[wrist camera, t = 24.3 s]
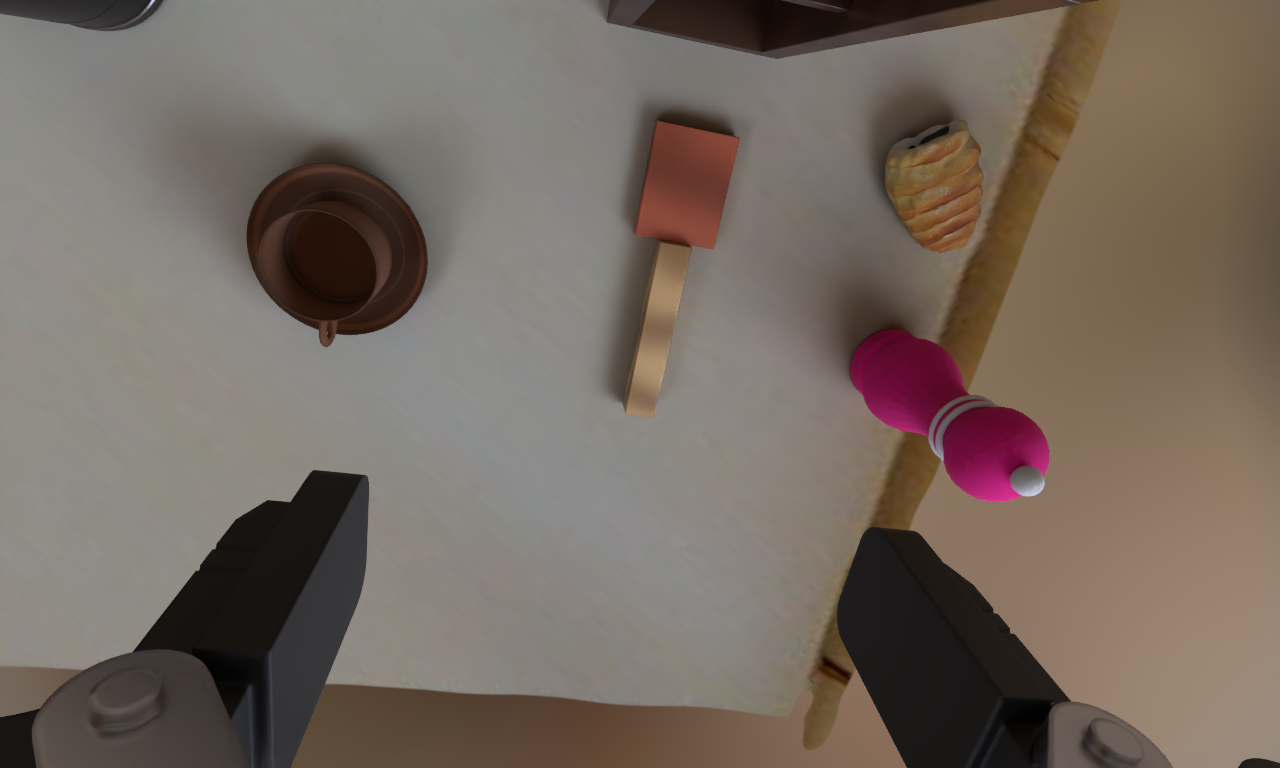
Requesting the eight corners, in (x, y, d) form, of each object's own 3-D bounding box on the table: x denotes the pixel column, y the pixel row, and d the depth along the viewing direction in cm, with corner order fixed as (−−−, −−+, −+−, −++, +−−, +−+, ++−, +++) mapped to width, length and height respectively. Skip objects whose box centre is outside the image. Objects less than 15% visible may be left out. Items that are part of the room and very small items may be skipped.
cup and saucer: (450, 312, 52) (436, 338, 46) (292, 339, 51) (259, 369, 46) (405, 147, 47) (383, 154, 41) (231, 176, 47) (185, 187, 41)
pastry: (983, 227, 54) (1012, 236, 50) (903, 264, 54) (926, 276, 51) (955, 110, 50) (984, 112, 46) (869, 152, 50) (891, 156, 47)
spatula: (671, 410, 57) (675, 421, 55) (601, 401, 56) (602, 411, 54) (736, 136, 49) (742, 138, 47) (655, 119, 48) (658, 120, 46)
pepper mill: (866, 418, 59) (1002, 561, 41) (829, 354, 56) (956, 478, 38) (940, 372, 58) (1113, 498, 40) (905, 305, 55) (1074, 408, 37)
